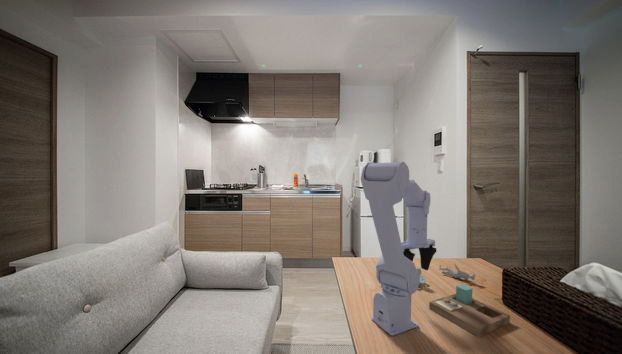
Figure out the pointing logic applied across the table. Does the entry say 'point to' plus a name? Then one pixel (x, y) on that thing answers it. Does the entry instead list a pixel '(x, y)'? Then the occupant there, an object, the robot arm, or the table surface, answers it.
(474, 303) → the wooden sorting tray
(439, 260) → the table surface
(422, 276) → the pacifier
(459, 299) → the teal rectangular block
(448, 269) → the soldier figure
